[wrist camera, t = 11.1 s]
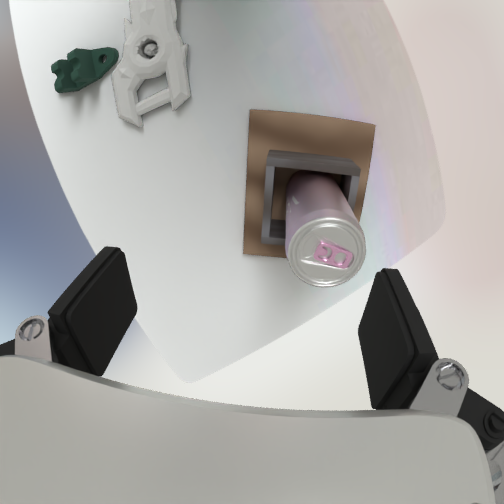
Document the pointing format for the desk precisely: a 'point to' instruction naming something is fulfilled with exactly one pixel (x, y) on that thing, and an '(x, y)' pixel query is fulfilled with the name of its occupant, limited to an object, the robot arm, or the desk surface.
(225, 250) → the desk surface
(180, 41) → the grey mechanical plate
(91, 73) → the mount
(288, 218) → the beverage can
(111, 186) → the desk surface
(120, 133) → the desk surface
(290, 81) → the desk surface
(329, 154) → the can dock
